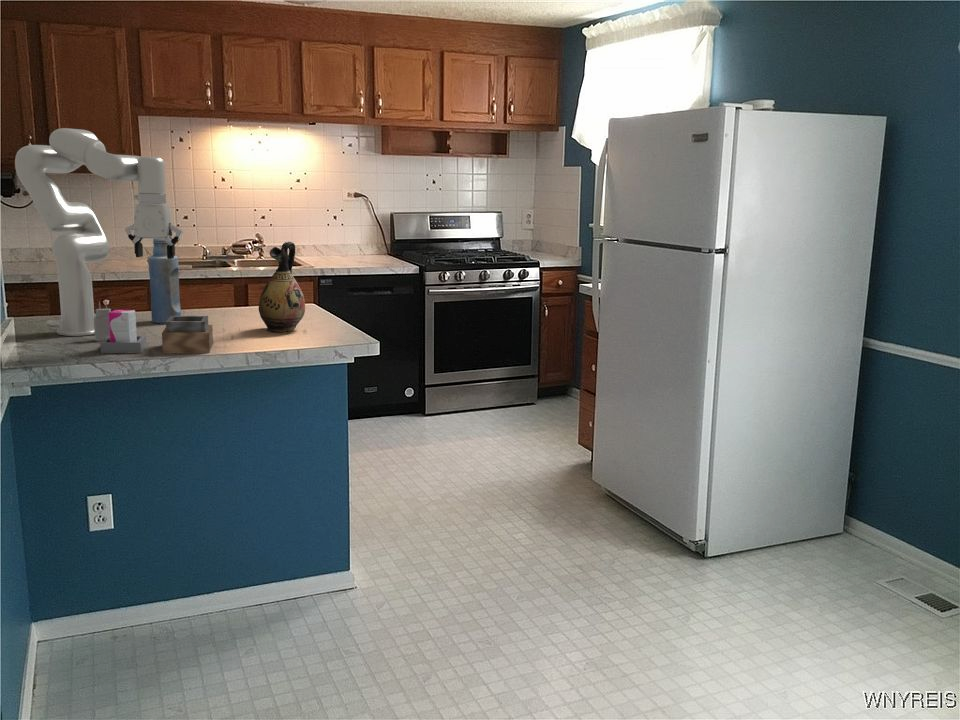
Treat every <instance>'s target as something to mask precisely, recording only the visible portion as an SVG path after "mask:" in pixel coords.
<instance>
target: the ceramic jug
mask: <svg viewBox="0 0 960 720" xmlns="http://www.w3.org/2000/svg"><path fill="white" fill-rule="evenodd" d="M269 256H270V258H272V259H274V260H275V261H277V262H278V267H277V269H276V270H275V271H274V273H273V274H272V276H271V277H270V278H269V280H268V281H267V283H266V285H265V286H264V287H263V289H262V291H261V293H260V297H259V301H258V314H259V316H260V319H261V320H262V322H263V323H264V325H265V326H266V327H267V328H266V331H268V332H270V331H273V332H272V333H287V332H286V331H290V332H293V331H292V330H294V329H295V330H296V327H297V325H298V324H299V323H300V322H301V320H302V319H303V318H304V316H305V312H306V301H305V297H304V293H303V291H302V289H301V287H300V286H299V283H298V281H297V279H295V277H294V276H293V266H294V261H295V257H296V244H295V243H294V242H292V241H286V242H284V243H283V244H282V245H281V248H279V247H277V246H274V247H272V248H271V249H270V251H269ZM295 330H294V331H295Z"/></svg>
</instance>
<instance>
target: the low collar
mask: <svg viewBox="0 0 960 720" xmlns="http://www.w3.org/2000/svg"><path fill="white" fill-rule="evenodd" d="M99 345H100V347H99V348H100V354H141V353H142V352H143V351H144V349H146V347H147V346H146V345H148V344H147V335H137V342H110V336H107V337H106V338H105V339H104V340H103V341H100V343H99ZM145 346H146V347H145ZM142 350H143V351H142ZM129 352H130V353H129Z"/></svg>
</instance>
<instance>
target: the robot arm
mask: <svg viewBox="0 0 960 720" xmlns="http://www.w3.org/2000/svg"><path fill="white" fill-rule="evenodd" d="M48 141H49V142H48V143H49V145H47V144H31V145H30V144H28V145H25V146H23V147H21V148H20V149H19V150H18V151H16V154H15V159H14V167H15V171H16V175H17V177H18V179H19V181H20V183H21V184H22V185H23V187H24V189H25V190H26V191H27V194H29V196H30V198H31V200H32V203H33V205H34V207H35V209H36V211H37V212H38V214H39V217H40V218H41V220H42V222H43V224H44V226H45V227H46V229H47V230H48V231H50V232H51V233H57V234H61V235H58V236H57V237H55V239H54V241H53V242H52V248H51V249H52V253H53V258H54V261H55V264H56V271H57V278H58V281H57V282H58V290H59V291H58V293H59V303H60V317H61V318H60V319H58V320H52V319H51V320H48V319H47V322H46V325H47V327H49V328H54V327H55V328H56V327H57V328H58V329H56V334H57V335H60V336H67V337H81V336H83V337H84V336H91V335H95V330H94V317H95V309H94V308H95V305H94V292H93V291H94V290H93V279H92V275H91V272H90V270H89V268H88V267H87V265H86V264H87V263H97V262H102V261H104V260H106V259H107V258H108V256H109V254H110V244H109V241H108V238H107V236H106V234H105V232H104V230H103V228H102V226H101V224H100V222H99V220H98V218H97V216H96V214H95V212H94V211H93V210H92V208H91V207H90V206H88V204H86V203H84V202H80V201H79V202H77V201H73V202H71V201H67V200H66V199H65V197H64V196H63V194H62V191H61V190H60V188H59V187H58V185H57V184H56V183H55V182H54V181H53V180H52V179H50V178H49V177H48V176H47V175H46V174H62V175H63V174H69V173H71V172H72V173H73V172H74V171H76V170H77V169H79V168H80V167H82V166H85V167H86V169H88V171H89V172H91V173H92V174H94V175H96V176H99V177H101V178H104V179H106V180H110V181H114V182H137V192H138V193H137V194H135V195H134V196H133V197H134V200H137V202H138V203H136V204H135V206H134V216H133V224H131V225H129V226H127V227H125V228H124V231H125V233H126V235H127V238H128V239H129V240H130V241H131V242H132V244H134V245H133V246H134V254H135V257H136V258H142V257H144V249H143V243H142V241H143V240H144V239H152V240H153V239H165V241H166V242H167V243H168V245H167V258H168V259H172V258H174V256H176V248H175V247H176V245H177V243H178V242H179V241H180V239H181V237H182V235H183V233H184V231H183V230H182V229H180V228H179V227H176V226H175V225H173V221H172V215H171V209H170V207H169V204H167V195H166V194H167V193H166V192H167V191H166V171H165V161H164V159H162V158H161V157H157V156H139V155H130V154H116V153H115V154H113V153H110V152H108V151H107V149H106V146H105V144H104V143H103V142H102V141H101V140H99V138H98V137H97V136H96V134H94V133H93V132H92V131H89V130H86V129H80V128H79V129H78V128H69V127H68V128H67V127H64V128H61V127H60V128H57V129H55V130H54V131H52V132H51V134H50V135H49V138H48ZM63 233H64V234H63ZM173 233H175V235H174V236H173Z"/></svg>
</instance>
